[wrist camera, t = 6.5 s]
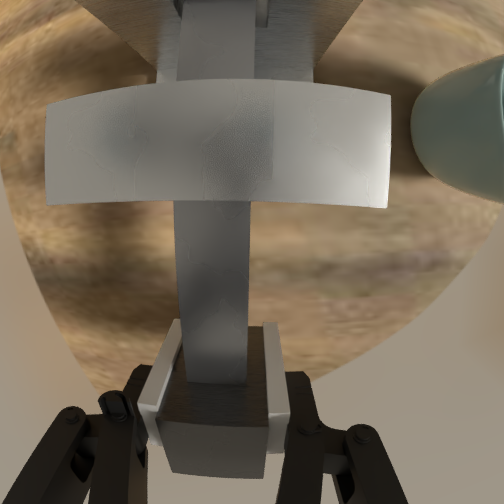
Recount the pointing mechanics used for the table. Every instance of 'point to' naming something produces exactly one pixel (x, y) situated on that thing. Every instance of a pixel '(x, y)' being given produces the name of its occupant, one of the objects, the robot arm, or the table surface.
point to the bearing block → (223, 120)
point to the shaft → (215, 287)
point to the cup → (464, 129)
